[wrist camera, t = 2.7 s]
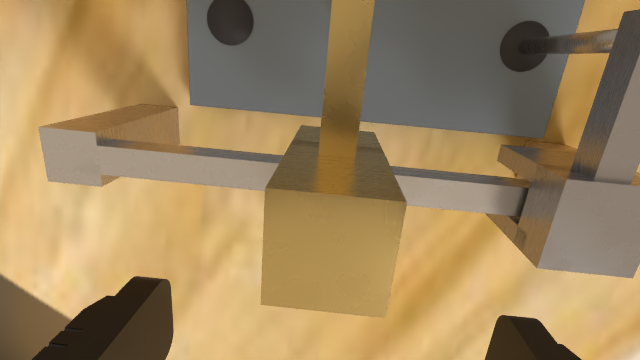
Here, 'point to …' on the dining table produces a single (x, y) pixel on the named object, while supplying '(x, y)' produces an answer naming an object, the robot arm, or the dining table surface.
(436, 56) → the flange plate
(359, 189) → the slide head
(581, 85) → the dining table surface
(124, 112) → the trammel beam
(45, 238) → the dining table surface
